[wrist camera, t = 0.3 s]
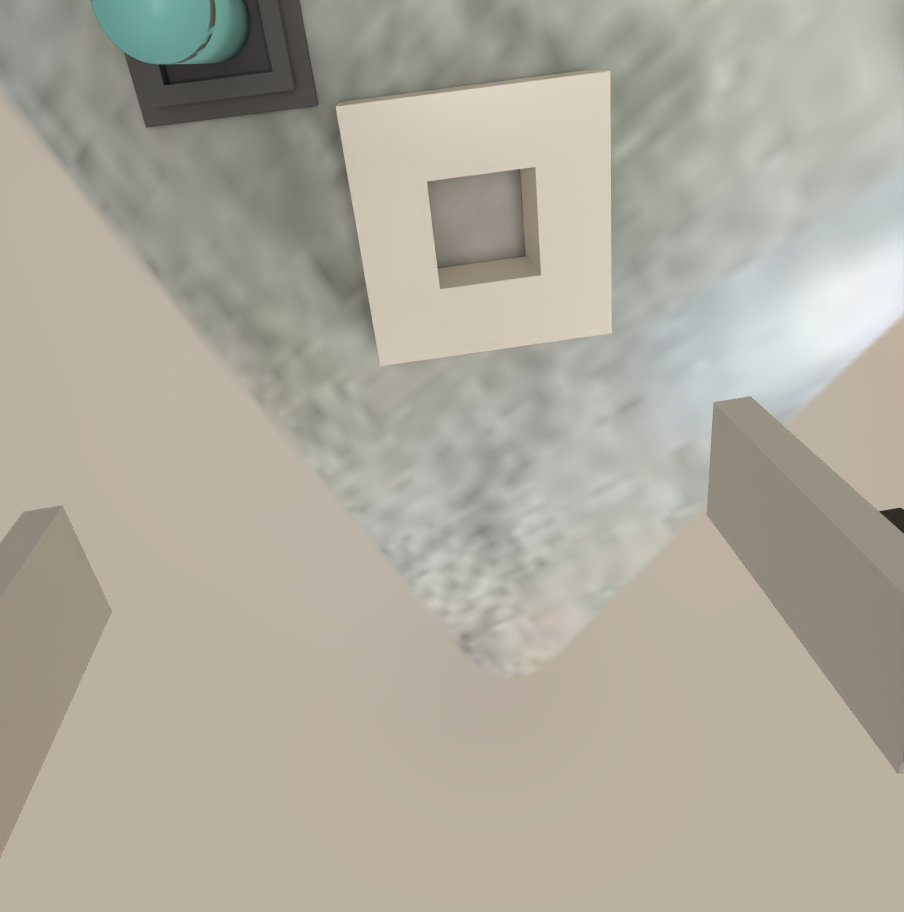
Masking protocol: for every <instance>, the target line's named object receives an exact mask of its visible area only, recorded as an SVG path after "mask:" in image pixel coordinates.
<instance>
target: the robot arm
mask: <svg viewBox="0 0 904 912" xmlns="http://www.w3.org/2000/svg"><path fill="white" fill-rule="evenodd" d="M707 515H708V516H709V518H710V519H711V521H712V522H713V523H714V525H715V526H716V527H717V529H718V530H719V532H720V533H721V534H722V536H723V537H724V538H725V540H726V541H727V543H728V544H729V545H730V546H731V548H732V549H733V550H734V552H735V553H736V555H737V556H738V557H739V559H740V560H741V562H742V563H743V564H744V566H745V567H746V568H747V570H748V571H749V572H750V574H751V575H752V576H753V578H754V579H755V581H756V582H757V583H758V585H759V586H760V587H761V589H762V590H763V591H764V593H765V594H766V595H767V597H768V598H769V600H770V601H771V602H772V604H773V605H774V606H775V608H776V609H777V610H778V612H779V613H780V614H781V616H782V617H783V618H784V620H785V621H786V623H787V624H788V625H789V627H790V628H791V629H792V631H793V632H794V634H795V635H796V636H797V638H798V639H799V640H800V642H801V643H802V644H803V646H804V647H805V648H806V650H807V651H808V653H809V654H810V655H811V657H812V658H813V659H814V661H815V662H816V663H817V665H818V666H819V668H820V669H821V670H822V672H823V673H824V674H825V676H826V677H827V678H828V680H829V681H830V682H831V684H832V685H833V687H834V688H835V689H836V691H837V692H838V693H839V695H840V696H841V697H842V699H843V700H844V701H845V703H846V704H847V706H848V707H849V708H850V710H851V711H852V712H853V714H854V715H855V716H856V718H857V719H858V721H859V722H860V723H861V725H862V726H863V727H864V729H865V730H866V731H867V733H868V734H869V735H870V737H871V738H872V739H873V741H874V742H875V744H876V745H877V746H878V748H879V749H880V750H881V752H882V753H883V754H884V756H885V757H886V758H887V760H888V761H889V763H890V764H891V765H892V767H893V768H894V769H895V771H896V772H897V773H898V774H899V773H904V509H902V508H896V509H890V510H884V511H878V510H877V509H875V508H874V507H873V506H872V505H871V504H870V503H869V502H868V501H867V500H865V499H864V498H863V497H862V496H861V495H860V494H859V493H858V492H857V491H855V490H854V489H853V488H852V487H851V486H850V485H849V484H848V483H847V482H845V481H844V480H843V479H842V478H841V477H840V476H839V475H838V474H836V473H835V472H834V471H833V470H832V469H831V468H830V467H829V466H828V465H826V464H825V463H824V462H823V461H822V460H821V459H819V457H817V456H816V455H815V454H814V453H813V452H812V451H811V450H810V449H809V448H807V447H806V446H805V445H804V444H803V443H802V442H801V441H800V440H799V439H797V438H796V437H795V436H794V435H793V434H792V433H791V432H790V431H789V430H787V429H786V428H785V427H784V426H783V425H782V424H781V423H780V422H779V421H777V420H776V419H775V418H774V417H773V416H772V415H771V414H770V413H768V412H767V411H766V410H765V409H764V408H763V407H762V406H761V405H760V404H758V403H757V402H756V401H755V400H754V399H753V398H752V397H751V396H750V397H744V398H738V399H731V400H725V401H719V402H714V405H713V421H712V438H711V454H710V470H709V487H708V503H707ZM111 613H112V611H111V608H110V606H109V604H108V602H107V600H106V598H105V595H104V593H103V591H102V589H101V587H100V585H99V583H98V581H97V578H96V576H95V574H94V572H93V570H92V568H91V565H90V563H89V562H88V559H87V557H86V555H85V553H84V551H83V548H82V546H81V544H80V542H79V540H78V538H77V535H76V534H75V531H74V529H73V527H72V525H71V523H70V521H69V518H68V516H67V514H66V512H65V510H64V508H63V506H57V507H51V508H44V509H38V510H32V511H25V512H23V513H22V514H21V516H20V517H19V519H18V520H17V521H16V523H15V524H14V525H13V527H12V528H11V530H10V531H9V532H8V534H7V535H6V536H5V537H4V539H3V540H2V541H1V543H0V857H1V854H2V852H3V850H4V848H5V846H6V843H7V841H8V839H9V837H10V835H11V833H12V830H13V828H14V826H15V824H16V822H17V819H18V817H19V815H20V813H21V811H22V808H23V806H24V804H25V802H26V800H27V797H28V795H29V793H30V791H31V789H32V786H33V784H34V782H35V780H36V777H37V775H38V773H39V771H40V769H41V766H42V764H43V762H44V760H45V758H46V756H47V753H48V751H49V749H50V747H51V745H52V742H53V740H54V738H55V736H56V733H57V731H58V729H59V727H60V725H61V723H62V720H63V718H64V716H65V714H66V712H67V709H68V707H69V705H70V703H71V700H72V698H73V696H74V694H75V692H76V690H77V687H78V685H79V683H80V681H81V679H82V676H83V674H84V672H85V670H86V668H87V665H88V663H89V661H90V658H91V657H92V654H93V652H94V650H95V648H96V646H97V643H98V641H99V639H100V637H101V634H102V632H103V630H104V628H105V626H106V624H107V621H108V619H109V617H110V615H111Z"/></svg>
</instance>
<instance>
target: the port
mask: <svg viewBox="0 0 904 912" xmlns="http://www.w3.org/2000/svg"><path fill="white" fill-rule="evenodd" d="M336 111H337V117H338V123H339V129H340V134H341V140H342V146H343V152H344V158H345V164H346V170H347V175H348V181H349V187H350V193H351V199H352V205H353V210H354V216H355V222H356V228H357V234H358V240H359V246H360V251H361V257H362V263H363V269H364V275H365V281H366V286H367V292H368V298H369V304H370V310H371V316H372V322H373V327H374V333H375V339H376V345H377V351H378V357H379V362H380V366H385V365H392V364H399V363H406V362H413V361H420V360H427V359H434V358H441V357H448V356H455V355H462V354H469V353H476V352H483V351H490V350H497V349H504V348H511V347H518V346H525V345H532V344H539V343H546V342H553V341H560V340H567V339H574V338H581V337H588V336H595V335H602V334H609V333H612V317H611V122H610V71H599V70H582V71H574V72H567V73H559V74H551V75H543V76H536V77H528V78H520V79H513V80H505V81H497V82H489V83H482V84H474V85H466V86H459V87H451V88H443V89H435V90H428V91H420V92H412V93H405V94H397V95H389V96H381V97H374V98H366V99H358V100H351V101H343V102H339V103H338V104H337V105H336ZM516 169H520V174H521V191H522V207H523V223H524V239H525V255H526V256H523V257H516V258H508V259H501V260H494V261H487V262H480V263H472V264H465V265H458V266H451V267H444V268H437V260H436V252H435V244H434V235H433V227H432V219H431V211H430V203H429V194H428V186H427V181H434V180H442V179H449V178H457V177H464V176H472V175H479V174H487V173H494V172H501V171H509V170H516Z"/></svg>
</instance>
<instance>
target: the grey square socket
mask: <svg viewBox="0 0 904 912" xmlns="http://www.w3.org/2000/svg"><path fill="white" fill-rule="evenodd" d="M246 2H247V5H248V8H249V12H250V19H251V27H250V34H249V38H248V41H247V43H246V45H245V47H244V48H243V50H242V51H241V52H240V53H239V54H238V55H237V56H236V57H235V58H233V59H231V60H229V61H227V62H223V63H215V64H151V63H147V62H143V61H140V60H138V59H135V58H133V57H131V56H130V55H128V54H126V53H125V52H124V53H125V56H126V60H127V63H128V67H129V70H130V73H131V77H132V80H133V84H134V87H135V91H136V94H137V98H138V101H139V105H140V108H141V111H142V115H143V118H144V122H145V125H146V128H147V127H155V126H162V125H170V124H178V123H185V122H193V121H201V120H209V119H216V118H224V117H232V116H239V115H247V114H255V113H262V112H270V111H278V110H286V109H293V108H301V107H309V106H316V105H318V102H317V96H316V91H315V85H314V80H313V74H312V69H311V63H310V58H309V52H308V47H307V41H306V36H305V30H304V25H303V19H302V14H301V8H300V3H299V0H246Z"/></svg>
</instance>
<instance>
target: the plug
mask: <svg viewBox="0 0 904 912" xmlns="http://www.w3.org/2000/svg"><path fill="white" fill-rule="evenodd" d="M91 3H92V7H93V10H94V13H95V15H96V18H97V20H98V22H99V24H100V26H101V27H102V29H103V30H104V32H105V33H106V35H107V36H108V37H109V38H110V40H111V41H112V42H113V43H114V44H115V45H116V46H117V47H119V48H120V49H121V50H122V51H124V52H125V53H126V54H128V55H130V56H131V57H133V58H135V59H138V60H140V61H143V62H147V63H151V64H215V63H223V62H227V61H229V60H231V59H233V58H235V57H236V56H237V55H238V54H239V53H240V52H241V51H242V50H243V48H244V47H245V45H246V43H247V41H248V38H249V34H250V27H251V19H250V12H249V8H248V5H247V2H246V0H91Z"/></svg>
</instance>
